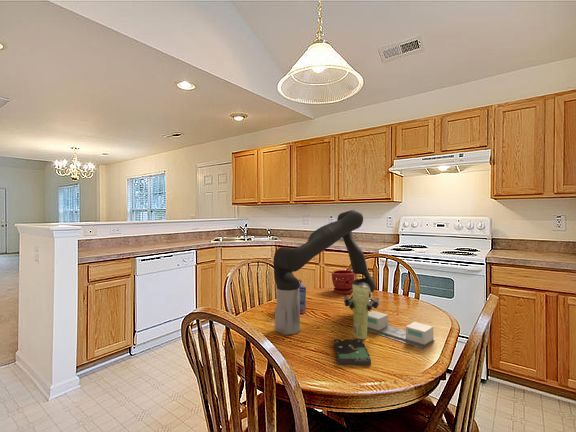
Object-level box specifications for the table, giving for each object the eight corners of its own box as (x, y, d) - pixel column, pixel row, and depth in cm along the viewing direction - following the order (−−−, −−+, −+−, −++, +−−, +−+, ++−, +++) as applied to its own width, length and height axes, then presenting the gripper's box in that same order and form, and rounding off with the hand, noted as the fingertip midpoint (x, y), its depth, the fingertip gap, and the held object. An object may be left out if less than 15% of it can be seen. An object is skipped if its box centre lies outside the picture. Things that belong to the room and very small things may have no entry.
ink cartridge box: (306, 313, 147) (306, 282, 147) (295, 314, 146) (294, 283, 145) (300, 306, 157) (299, 277, 156) (289, 307, 155) (289, 278, 155)
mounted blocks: (424, 344, 110) (424, 332, 110) (363, 325, 128) (363, 314, 128) (433, 338, 115) (433, 326, 115) (372, 321, 133) (372, 310, 133)
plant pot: (358, 290, 185) (357, 270, 185) (349, 296, 174) (349, 274, 174) (337, 288, 192) (337, 268, 192) (328, 293, 181) (328, 272, 181)
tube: (367, 334, 122) (367, 284, 121) (370, 340, 117) (369, 287, 116) (352, 334, 122) (352, 284, 122) (354, 339, 117) (354, 287, 116)
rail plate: (422, 349, 109) (422, 346, 109) (361, 329, 127) (361, 326, 127) (435, 340, 116) (435, 337, 116) (375, 322, 134) (375, 320, 134)
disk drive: (332, 346, 113) (338, 366, 98) (332, 338, 113) (338, 358, 98) (361, 346, 113) (371, 366, 98) (361, 338, 113) (371, 357, 98)
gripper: (344, 285, 134) (340, 296, 118) (379, 287, 131) (380, 298, 114) (344, 303, 135) (340, 316, 118) (379, 305, 131) (380, 319, 115)
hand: (360, 307), depth 116 cm, fingers closed on tube, 5 cm apart
